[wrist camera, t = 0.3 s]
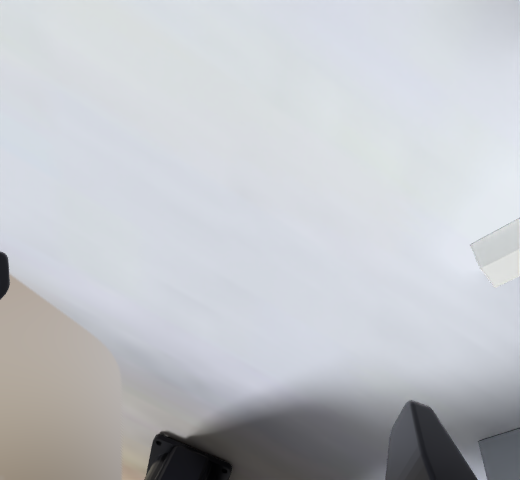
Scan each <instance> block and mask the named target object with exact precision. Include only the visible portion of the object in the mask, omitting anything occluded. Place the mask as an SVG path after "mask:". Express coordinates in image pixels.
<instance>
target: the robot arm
mask: <svg viewBox="0 0 520 480" xmlns="http://www.w3.org/2000/svg"><path fill="white" fill-rule="evenodd" d="M9 285H10V279H9V263H8V257H7V255H6V254H5V253H3V252H0V299H1V298H2V297H3V296H4V295H5V294H6V292H7V290H8V288H9ZM231 471H232V466H231V465H230V464H229V463H227V462H225V461H223V460H220V459H218V458H215V457H213V456H211V455H208V454H206V453H204V452H201V451H199V450H196V449H194V448H192V447H189V446H187V445H185V444H182V443H180V442H178V441H175V440H173V439H170V438H168V437H166V436H163V435H160V434H158V435H156V436H155V438H154V440H153V443H152V448H151V453H150V459H149V464H148V469H147V474H146V477H145V479H144V480H228V479H229V477H230V474H231ZM385 480H478V479H477V478H476V476H475V475H474V473H473V472H472V470H471V468H470V467H469V465H468V464H467V462H466V461H465V459H464V458H463V456H462V455H461V453H460V452H459V450H458V448H457V447H456V445H455V444H454V442H453V441H452V439H451V438H450V436H449V435H448V433H447V431H446V430H445V428H444V427H443V425H442V424H441V422H440V421H439V419H438V418H437V416H436V414H435V413H434V411H433V410H432V409H431V408H430V407H429V406H427V405H424V404H421V403H418V402H415V401H412V400H411V401H408V402H407V403H406V404H405V406H404V408H403V410H402V411H401V413H400V415H399V417H398V419H397V420H396V422H395V424H394V426H393V428H392V431H391V434H390V440H389V449H388V459H387V468H386V478H385Z"/></svg>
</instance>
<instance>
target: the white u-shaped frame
mask: <svg viewBox="0 0 520 480" xmlns="http://www.w3.org/2000/svg"><path fill="white" fill-rule="evenodd" d="M470 247H471V249H472V251H473V254H474V256H475V258H476V260H477V263H478V265H479V267H480V269H481V271H482V272H483V273H484V275H485V276H486V277H487V279H488V280H489V281H490V283H491V284H492V285H493V287H494V288H497V287H499V286H501V285H503V284H505V283H507V282H509V281H511V280H513V279H516V278H518V277H520V218H519V219H517V220H515V221H513V222H511V223H510V224H508V225H506V226H504V227H502V228H500V229H499V230H497V231H495V232H493V233H491V234H489V235H487V236H486V237H484V238H482V239H480V240H478V241H476V242H474V243H473V244H471V245H470Z"/></svg>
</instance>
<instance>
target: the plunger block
mask: <svg viewBox="0 0 520 480" xmlns="http://www.w3.org/2000/svg"><path fill="white" fill-rule="evenodd" d="M478 442H479V446H480V451H481V455H482V459H483V463H484V467H485V471H486V476H487V480H520V428H519V429H516V430H513V431H510V432H506V433H503V434H500V435H497V436H494V437H491V438H487V439H484V440H481V441H478Z"/></svg>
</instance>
